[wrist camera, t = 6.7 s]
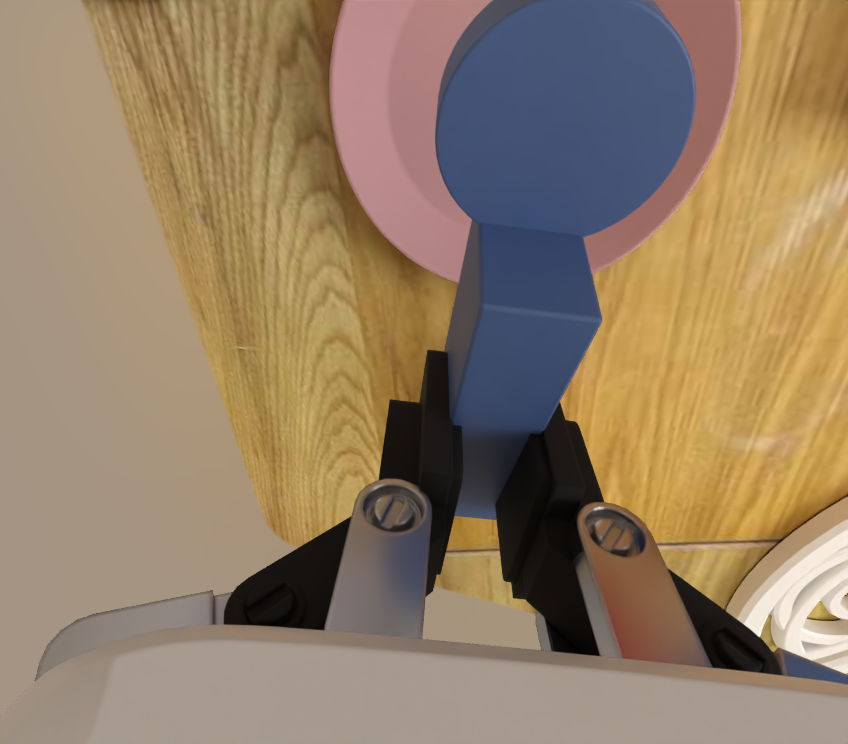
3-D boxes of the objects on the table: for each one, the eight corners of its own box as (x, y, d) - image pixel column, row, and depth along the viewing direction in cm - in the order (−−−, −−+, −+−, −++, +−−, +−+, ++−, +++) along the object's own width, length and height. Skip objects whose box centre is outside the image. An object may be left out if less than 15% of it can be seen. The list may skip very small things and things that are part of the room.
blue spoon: (456, -53, 7) (451, 28, 5) (728, -11, 7) (831, 83, 5) (399, 410, 15) (388, 510, 13) (525, 423, 15) (533, 524, 13)
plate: (271, -43, 18) (253, -50, 16) (710, -248, 15) (743, -281, 13) (410, 309, 25) (408, 330, 24) (720, 219, 22) (742, 235, 21)
